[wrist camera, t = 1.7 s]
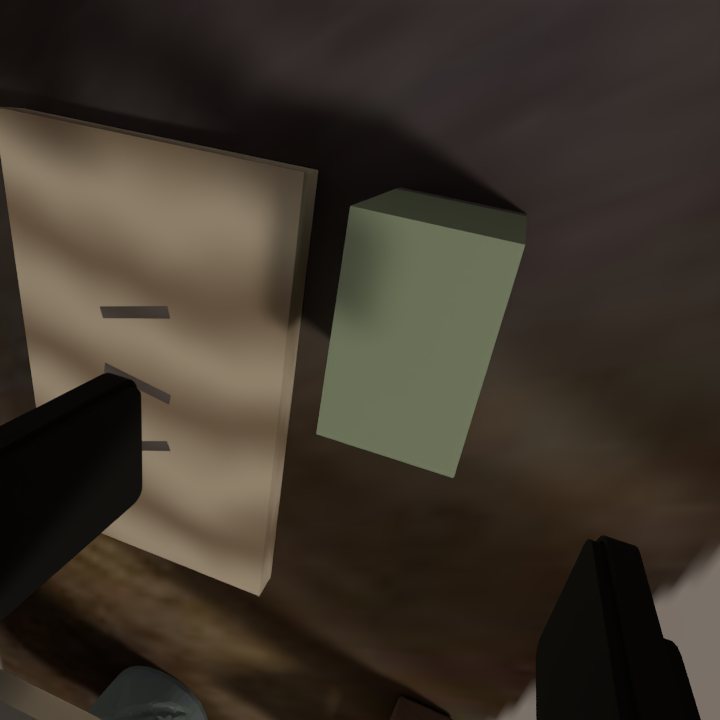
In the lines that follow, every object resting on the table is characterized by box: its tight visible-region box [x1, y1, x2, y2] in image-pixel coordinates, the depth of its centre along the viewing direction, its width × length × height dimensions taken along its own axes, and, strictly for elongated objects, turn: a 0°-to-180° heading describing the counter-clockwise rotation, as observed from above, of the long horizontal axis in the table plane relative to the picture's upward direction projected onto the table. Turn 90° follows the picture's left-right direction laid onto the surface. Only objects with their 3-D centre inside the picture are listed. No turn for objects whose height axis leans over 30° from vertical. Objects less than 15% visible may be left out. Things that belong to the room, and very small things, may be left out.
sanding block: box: [316, 187, 527, 478], centre depth 19 cm, size 8×5×6 cm, turn 171°
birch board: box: [0, 107, 318, 596], centre depth 27 cm, size 24×15×2 cm, turn 171°
